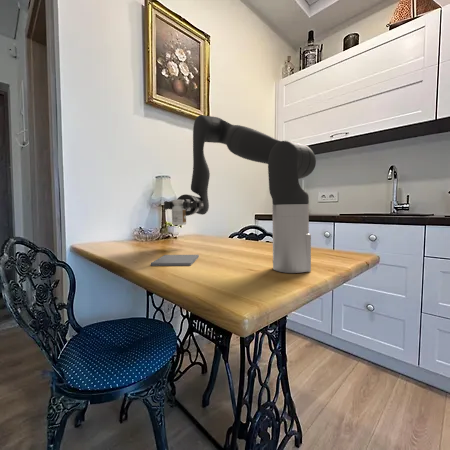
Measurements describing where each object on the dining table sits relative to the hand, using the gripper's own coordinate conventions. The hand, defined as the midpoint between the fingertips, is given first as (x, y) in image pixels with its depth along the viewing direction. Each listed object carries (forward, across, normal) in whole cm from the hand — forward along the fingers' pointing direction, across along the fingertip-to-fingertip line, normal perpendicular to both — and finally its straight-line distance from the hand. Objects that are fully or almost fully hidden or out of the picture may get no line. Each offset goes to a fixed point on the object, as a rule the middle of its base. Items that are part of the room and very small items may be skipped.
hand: (176, 205), depth 78 cm
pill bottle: (-3, 0, +6) cm, 7 cm away
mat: (-4, -2, +18) cm, 18 cm away
